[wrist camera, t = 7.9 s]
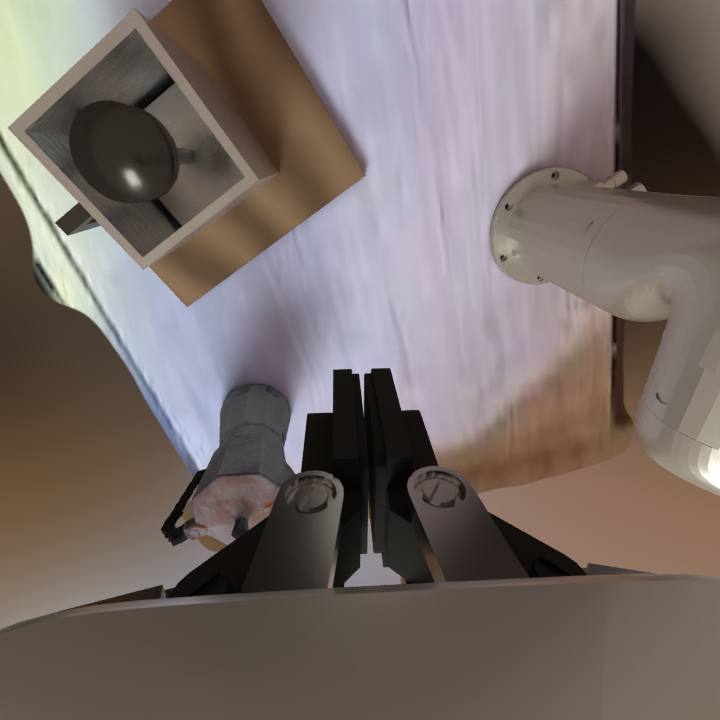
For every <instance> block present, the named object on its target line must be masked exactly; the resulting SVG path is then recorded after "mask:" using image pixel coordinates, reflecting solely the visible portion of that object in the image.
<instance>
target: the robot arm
mask: <svg viewBox="0 0 720 720" xmlns="http://www.w3.org/2000/svg"><path fill="white" fill-rule="evenodd" d="M552 173H553V176H552V177H551V175H552ZM627 179H628V178H627V174H626V173H625V172H624V171H623V170H619V171H617V172H616V173H614V174H613V175H611V176H610V177H608V178H607V179H606V180H605V181H603V182H596V181H591V180H590V179H589V178H588V177H587V176H585V175H584V174H582V173H581V172H579V171H576V170H574V169H571V168H564V167H549V168H545V169H540V170H537V171H535V172H533V173H530V174H528V175H527V176H525V177H524V178H522V179H521V180H519V181H518V182H517V183H516V184H515V185H513V186H512V187H511V188H510V189H509V190H508V192H507V193H506V194H505V196H504V197H503V198H502V200H501V201H500V203H499V205H498V207H497V209H496V211H495V213H494V216H493V219H492V222H491V228H490V247H491V252H492V255H493V257H494V260H495V262H496V263H497V265H498V266H499V268H500V269H501V270H502V271H503V272H504V273H505V274H507V275H508V276H509V277H511V278H513V279H514V280H517V281H519V282H522V283H527V284H544V283H548V282H551V283H553V284H555V285H557V286H558V287H560V288H562V289H564V290H566V291H568V292H570V293H572V294H574V295H576V296H578V297H579V298H581V299H583V300H585V301H587V302H589V303H591V304H593V305H595V306H597V307H599V308H601V309H602V310H604V311H606V312H608V313H610V314H612V315H614V316H617V317H620V318H622V319H627V320H632V321H658V320H664V319H668V323H667V325H666V328H665V331H664V333H663V336H662V342H661V345H660V347H659V350H658V353H657V355H656V358H655V360H654V363H653V366H652V368H651V371H650V374H649V377H648V379H647V382H646V384H645V387H644V390H643V393H642V396H641V398H640V401H639V404H638V407H637V411H636V415H635V423H634V428H635V433H636V437H637V439H638V441H639V443H640V445H641V447H642V448H643V449H644V450H645V452H646V453H647V454H648V455H649V456H650V457H651V458H652V459H653V460H654V461H656V462H657V463H658V464H660V465H661V466H662V467H664V468H665V469H667V470H668V471H670V472H671V473H673V474H675V475H677V476H678V477H680V478H682V479H684V480H686V481H688V482H690V483H692V484H694V485H696V486H698V487H700V488H702V489H705V490H707V491H709V492H711V493H714V494H716V495H719V496H720V197H702V196H686V195H675V194H665V193H654V192H647V191H646V189H645V187H644V186H643V185H642V184H641V183H638V182H637V183H634V184H633V185H631V186H630V187H628V188H627V189H625V190H624V189H615V188H617V187H618V186H620V185H622V184H623V183H625V182H626V181H627ZM506 204H507V207H506V208H505V205H506ZM501 255H503V256H502V258H500V257H501ZM368 501H369V511H370V521H371V530H372V541H373V551H374V553H382V560H383V567H390V568H391V569H392V570H393V571H395V572H396V573H397V574H399V575H400V576H401V578H400V581H401V584H398V585H379V586H362V587H346V581H347V580H348V579H349V578H350V577H351V576H352V575H353V574H354V573H355V572H356V571H357V570H358V568H360V554H367V531H368ZM0 720H720V577H714V576H702V575H690V574H655V573H649V572H643V571H636V570H629V569H623V568H616V567H611V566H604V565H598V564H591V563H588V564H587V567H586V568H581V567H580V566H579V565H578V564H577V563H576V562H574V561H573V560H571V559H570V558H569V557H567V556H566V555H564V554H563V553H561V552H559V551H557V550H555V549H553V548H552V547H550V546H548V545H546V544H545V543H543V542H541V541H539V540H537V539H536V538H534V537H532V536H530V535H528V534H527V533H525V532H523V531H521V530H520V529H518V528H516V527H514V526H513V525H511V524H509V523H507V522H505V521H504V520H501V519H500V518H498V517H496V516H495V515H493V514H491V513H489V512H488V511H487V509H486V508H485V506H484V504H483V503H482V501H481V500H480V498H479V497H478V495H477V493H476V492H475V490H474V489H473V487H472V485H471V484H470V483H469V481H468V480H467V479H466V478H465V477H464V476H463V475H461V474H460V473H458V472H457V471H455V470H452V469H450V468H447V467H441V466H438V464H437V461H436V458H435V455H434V452H433V449H432V446H431V443H430V440H429V437H428V434H427V431H426V428H425V425H424V422H423V419H422V416H421V413H420V411H419V410H405V411H401V408H400V404H399V400H398V396H397V392H396V389H395V385H394V381H393V377H392V374H391V370H390V368H379V369H371V373H370V374H364V414H363V405H362V396H361V388H360V379H359V374H352V369H339V370H333V413H308V414H307V422H306V431H305V440H304V449H303V459H302V468H301V473H298V474H296V475H294V476H292V477H290V478H289V479H287V480H286V481H285V482H284V483H283V484H282V486H281V487H280V489H279V491H278V493H277V496H276V499H275V501H274V504H273V507H272V509H271V512H270V515H269V516H268V517H266V518H265V519H263V520H262V521H261V522H259V523H258V524H256V525H255V526H254V527H252V528H251V529H250V530H248V531H247V532H245V533H244V534H243V535H241V536H240V537H238V538H237V539H236V540H234V541H233V542H232V543H230V544H229V545H227V546H226V547H225V548H223V549H222V550H220V551H219V552H218V553H216V554H215V555H214V556H212V557H211V558H209V559H208V560H207V561H205V562H204V563H203V564H201V565H200V566H198V567H197V568H196V569H194V570H193V571H192V572H190V573H189V574H188V575H187V576H185V577H184V578H183V579H182V580H181V581H180V582H179V583H178V584H177V585H176V587H175V588H171V589H167V590H164V587H163V585H159V586H155V587H152V588H148V589H144V590H140V591H136V592H132V593H128V594H124V595H120V596H116V597H113V598H109V599H105V600H101V601H97V602H94V603H89V604H86V605H81V606H77V607H74V608H70V609H66V610H62V611H58V612H55V613H51V614H47V615H44V616H40V617H37V618H33V619H29V620H26V621H22V622H18V623H16V624H13V625H11V626H8V627H5V628H2V629H0Z"/></svg>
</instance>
